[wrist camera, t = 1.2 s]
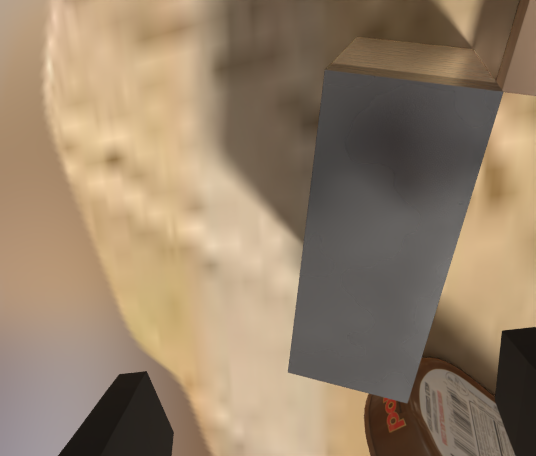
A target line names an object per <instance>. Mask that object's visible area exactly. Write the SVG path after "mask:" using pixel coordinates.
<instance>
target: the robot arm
mask: <svg viewBox="0 0 536 456" xmlns="http://www.w3.org/2000/svg"><path fill="white" fill-rule="evenodd" d="M495 402H496V405H497V408H498V411H499V414H500V416H501V419H502V422H503V425H504V427H505V430H506V433H507V435H508V438H509V441H510V443H511V446H512V448H513V451H514V453H515V455H516V456H536V327H531V328H522V329H514V330H505V331H502V336H501V346H500V356H499V365H498V375H497V385H496V394H495ZM173 434H174V432H173V430H172V428H171V425H170V423H169V421H168V419H167V416H166V414H165V412H164V409H163V407H162V405H161V403H160V400H159V398H158V396H157V394H156V391H155V389H154V387H153V385H152V382H151V380H150V378H149V376H148V373H147V371H145V372H137V373H127V374H119V375H118V377H117V378H116V379H115V381H114V382H113V383H112V385H111V386H110V387H109V388H108V390H107V391H106V392H105V394H104V395H103V396H102V398H101V399H100V400H99V402H98V403H97V405H96V406H95V407H94V409H93V410H92V411H91V413H90V414H89V415H88V417H87V418H86V419H85V421H84V422H83V423H82V425H81V426H80V428H79V429H78V430H77V431H76V433H75V434H74V435H73V437H72V438H71V440H70V441H69V442H68V443H67V445H66V446H65V447H64V449H63V450H62V451H61V452H60V454H59V455H58V456H171V455H172V445H173Z"/></svg>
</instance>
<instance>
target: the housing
mask: <svg viewBox="0 0 536 456" xmlns="http://www.w3.org/2000/svg"><path fill="white" fill-rule="evenodd" d="M502 95H503V90H502V89H501V88H500V86H499V85H498V83H497V82H496V81H495V79H494V78H493V76H492V75H491V73H490V72H489V71H488V69H487V68H486V66H485V65H484V64H483V62H482V61H481V59H480V58H479V56H478V55H477V54H476V52H475V51H474V49H468V48H459V47H449V46H440V45H431V44H421V43H412V42H403V41H393V40H384V39H375V38H366V37H356V38H355V40H354V41H353V42H352V43H351V44H350V45H349V46H348V47H347V48H346V49H345V50H344V51H343V52H342V53H341V54H340V55H339V56H338V57H337V58H336V59H335V60H334V61H333V62H332V63H331V64H330V65H329V66H328V67H327V68H326V69H325V73H324V81H323V90H322V98H321V106H320V114H319V122H318V130H317V139H316V147H315V155H314V163H313V171H312V179H311V188H310V196H309V204H308V212H307V220H306V228H305V237H304V245H303V253H302V261H301V269H300V277H299V286H298V294H297V302H296V310H295V318H294V326H293V335H292V343H291V351H290V359H289V367H288V372H289V373H292V374H296V375H300V376H304V377H308V378H312V379H315V380H319V381H323V382H327V383H331V384H335V385H338V386H342V387H346V388H350V389H354V390H358V391H361V392H365V393H369V394H373V395H377V396H381V397H384V398H388V399H392V400H396V401H400V402H404V403H408V400H409V397H410V394H411V390H412V387H413V384H414V381H415V377H416V374H417V371H418V368H419V364H420V361H421V358H422V355H423V351H424V348H425V345H426V342H427V338H428V335H429V332H430V329H431V325H432V322H433V319H434V316H435V312H436V309H437V306H438V303H439V299H440V296H441V293H442V290H443V286H444V283H445V280H446V277H447V273H448V270H449V267H450V264H451V260H452V257H453V254H454V251H455V248H456V244H457V241H458V238H459V235H460V231H461V228H462V225H463V222H464V218H465V215H466V212H467V209H468V205H469V202H470V199H471V196H472V192H473V189H474V186H475V183H476V179H477V176H478V173H479V170H480V166H481V163H482V160H483V157H484V153H485V150H486V147H487V144H488V140H489V137H490V134H491V131H492V127H493V124H494V121H495V118H496V114H497V111H498V108H499V105H500V101H501V98H502Z"/></svg>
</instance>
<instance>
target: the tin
mask: <svg viewBox="0 0 536 456" xmlns="http://www.w3.org/2000/svg"><path fill="white" fill-rule="evenodd" d="M364 421H365V433H366V439H367V444H368V447H369V452H370V455H371V456H516V455H515V453H514V451H513V448H512V446H511V443H510V441H509V438H508V435H507V433H506V430H505V427H504V425H503V422H502V419H501V416H500V414H499V411H498V408H497V405H496V402H495V397H494V396H493V395H492V394H491V393H489V392H488V391H487V390H486V389H484V388H483V387H482V386H481V385H479V384H478V383H477V382H476V381H475V380H473V379H472V378H471V377H470V376H468V375H467V374H466V373H464V372H463V371H461V370H460V369H458V368H457V367H455V366H453V365H452V364H449V363H447V362H445V361H443V360H440V359H437V358H421V361H420V364H419V368H418V371H417V374H416V377H415V381H414V384H413V387H412V390H411V394H410V397H409V400H408V403H404V402H400V401H396V400H392V399H388V398H384V397H381V396H377V395H373V394H368V397H367V400H366V405H365V413H364Z"/></svg>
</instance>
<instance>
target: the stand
mask: <svg viewBox="0 0 536 456" xmlns="http://www.w3.org/2000/svg"><path fill="white" fill-rule="evenodd" d="M496 82H497V83H498V85H499V86H500V88H501V89H502V90H503V92H507V93H515V94H523V95H532V96H536V0H520V2H519V5H518V9H517V12H516V15H515V19H514V22H513V25H512V29H511V32H510V35H509V39H508V42H507V46H506V49H505V52H504V56H503V59H502V62H501V66H500V69H499V72H498V76H497V79H496Z"/></svg>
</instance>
